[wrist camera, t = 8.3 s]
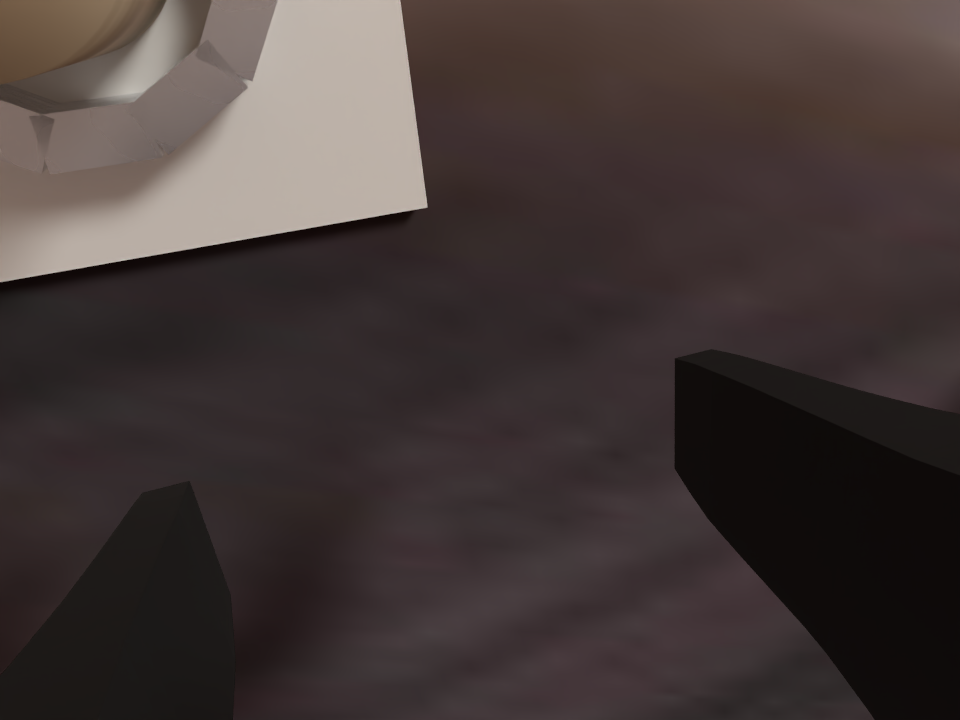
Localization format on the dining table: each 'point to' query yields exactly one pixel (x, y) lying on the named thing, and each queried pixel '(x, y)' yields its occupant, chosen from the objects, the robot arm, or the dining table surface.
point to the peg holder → (210, 134)
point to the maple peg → (66, 32)
